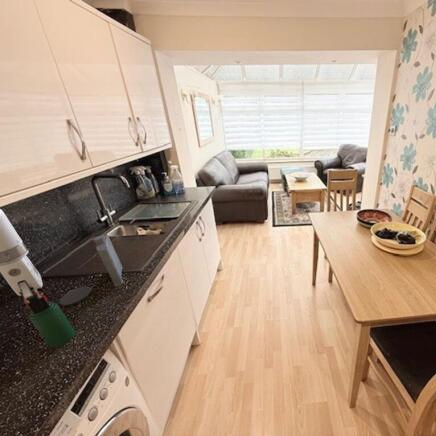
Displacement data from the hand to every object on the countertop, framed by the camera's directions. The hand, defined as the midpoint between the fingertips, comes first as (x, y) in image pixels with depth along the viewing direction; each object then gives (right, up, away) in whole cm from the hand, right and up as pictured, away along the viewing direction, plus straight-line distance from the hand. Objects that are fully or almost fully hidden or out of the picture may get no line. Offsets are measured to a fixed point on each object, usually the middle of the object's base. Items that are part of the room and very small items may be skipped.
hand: (41, 303), depth 70 cm
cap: (0, 0, 0) cm, 1 cm away
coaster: (-11, -6, +24) cm, 27 cm away
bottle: (+1, -13, +6) cm, 15 cm away
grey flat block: (-2, 0, +34) cm, 34 cm away
